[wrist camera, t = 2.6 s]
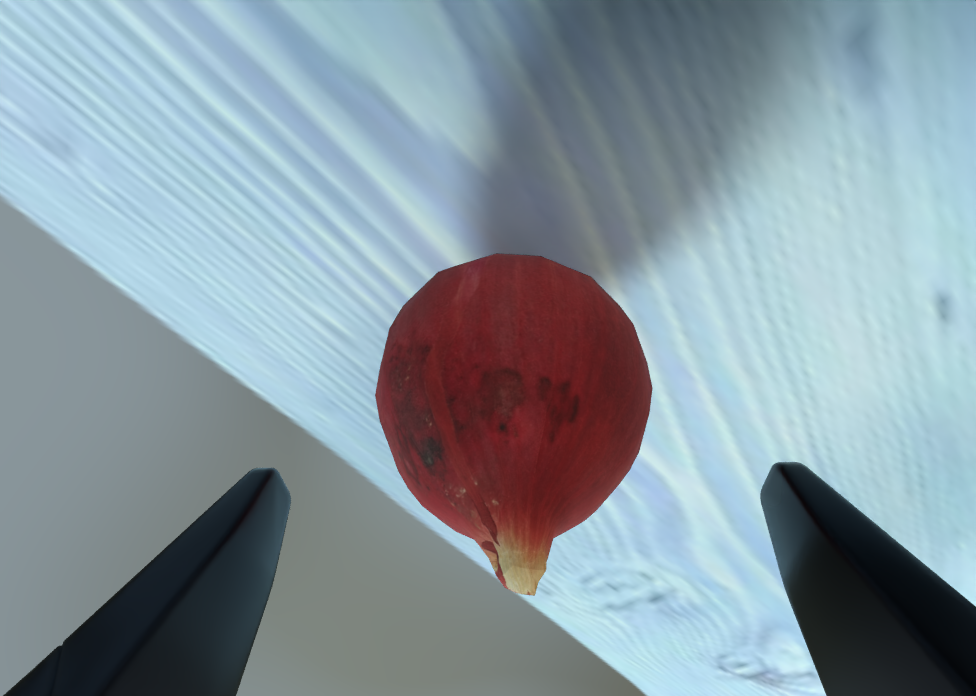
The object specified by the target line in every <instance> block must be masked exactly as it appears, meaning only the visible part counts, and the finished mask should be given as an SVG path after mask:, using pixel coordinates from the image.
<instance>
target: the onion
mask: <svg viewBox="0 0 976 696" xmlns="http://www.w3.org/2000/svg"><path fill="white" fill-rule="evenodd" d="M651 395H652V384H651V379H650V374H649V370H648V365H647V361H646V358H645V356H644V353H643V350H642V347H641V344H640V341H639V339H638V336H637V333H636V330H635V327H634V325H633V323H632V322H631V320H630V319H629V318H628V316H627V315H626V314H625V312H624V311H623V310H622V308H621V307H620V306H619V305H618V304H617V303H616V302H615V301H614V300H613V299H612V298H611V297H610V296H609V295H608V294H607V293H606V292H605V291H604V290H603V289H602V288H601V287H600V286H599V285H598V284H597V283H596V282H595V281H594V280H593V279H592V278H591V277H590V276H588V275H585V274H583V273H580V272H578V271H576V270H573V269H571V268H568V267H566V266H564V265H561V264H559V263H556V262H554V261H552V260H549V259H547V258H544V257H542V256H530V255H513V254H493V255H490V256H487V257H483V258H480V259H477V260H474V261H470V262H467V263H464V264H460V265H457V266H454V267H451V268H448V269H445V270H443V271H440V272H438V273H437V274H436V275H435V276H434V277H433V278H431V279H430V280H429V281H428V282H427V283H426V284H425V285H424V286H423V287H422V288H421V289H420V290H419V291H418V292H417V293H416V294H415V295H414V296H413V297H412V298H411V299H410V300H409V301H408V302H407V303H406V304H405V305H404V306H403V307H402V309H401V310H400V312H399V314H398V315H397V317H396V319H395V320H394V322H393V324H392V325H391V327H390V329H389V333H388V337H387V341H386V345H385V350H384V354H383V358H382V362H381V366H380V371H379V377H378V383H377V388H376V394H375V396H376V402H377V407H378V413H379V419H380V422H381V425H382V428H383V431H384V433H385V436H386V439H387V441H388V444H389V447H390V449H391V452H392V455H393V458H394V461H395V463H396V466H397V469H398V471H399V473H400V475H401V476H402V478H403V480H404V482H405V483H406V485H407V487H408V489H409V490H410V491H411V492H412V494H413V495H414V496H415V497H416V499H417V500H418V501H419V502H420V504H421V505H422V506H423V507H424V508H426V509H427V510H428V511H429V512H431V513H432V514H433V515H435V516H436V517H437V518H438V519H440V520H441V521H442V522H444V523H445V524H446V525H448V526H449V527H451V528H452V529H453V530H455V531H456V532H458V533H461V534H463V535H465V536H467V537H469V538H472V539H474V540H475V541H476V542H477V543H478V545H479V546H480V547H481V549H482V550H483V551H484V553H485V554H486V555H487V557H488V558H489V560H490V562H491V564H492V567H493V569H494V571H495V574H496V576H497V577H498V579H499V580H500V581H501V583H502V584H503V586H504V587H505V588H507V589H509V590H511V591H513V592H515V593H519V594H525V595H534V596H535V593H536V589H537V585H538V582H539V580H540V579H541V577H542V576H543V574H544V573H545V571H546V561H547V559H548V555H549V552H550V548H551V544H552V541H553V538H555V537H557V536H558V535H560V534H562V533H564V532H566V531H568V530H569V529H571V528H573V527H575V526H576V525H578V524H580V523H581V522H583V521H585V520H586V519H587V518H588V517H589V516H591V515H592V514H593V513H594V512H595V511H596V510H597V509H598V508H599V507H600V506H601V505H602V503H603V502H604V501H605V500H606V499H607V498H608V497H609V495H610V494H611V493H612V492H613V491H614V490H615V489H616V487H617V486H618V485H619V484H620V482H621V481H622V480H623V478H624V477H625V476H626V474H627V473H628V472H629V470H630V468H631V466H632V464H633V463H634V461H635V459H636V457H637V455H638V453H639V450H640V446H641V442H642V439H643V435H644V431H645V427H646V423H647V420H648V416H649V411H650V403H651Z"/></svg>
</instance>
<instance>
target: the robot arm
mask: <svg viewBox="0 0 976 696" xmlns="http://www.w3.org/2000/svg"><path fill="white" fill-rule="evenodd" d="M290 504H291V497H290V493H289V491H288V489H287V487H286V485H285V483H284V481H283V479H282V478H281V476H280V474H279V472H278V471H277V470H276V469H275V468H255V469H252V470H251V471H249V472H248V473H247V474H246V475H245V476H244V477H243V478H242V479H240V480H239V481H238V482H237V483H236V484H235V485H234V486H233V487H232V488H231V489H229V490H228V491H227V492H226V493H225V494H224V495H223V496H222V497H221V498H220V499H219V500H218V501H216V502H215V503H214V504H213V505H212V506H211V507H210V508H209V509H208V510H207V511H205V512H204V513H203V514H202V515H201V516H200V517H199V518H198V519H197V520H196V521H195V522H193V523H192V524H191V525H190V526H189V527H188V528H187V529H186V530H185V531H184V532H182V533H181V534H180V535H179V536H178V537H177V538H176V539H175V540H174V541H173V542H172V543H171V544H169V545H168V546H167V547H166V548H165V549H164V550H163V551H162V552H161V553H160V554H159V555H157V556H156V557H155V558H154V559H153V560H152V561H151V562H150V563H149V564H148V565H147V566H145V567H144V568H143V569H142V570H141V571H140V572H139V573H138V574H137V575H135V576H134V577H133V578H132V579H131V580H130V581H129V582H128V583H127V584H126V585H125V586H124V587H123V588H121V589H120V590H119V591H118V592H117V593H116V594H115V595H114V596H113V597H112V598H111V599H109V600H108V601H107V602H106V603H105V604H104V605H103V606H102V607H101V608H99V609H98V610H97V611H96V612H95V613H94V614H93V615H92V616H91V617H90V618H89V619H88V620H86V621H85V622H84V623H83V624H82V625H81V626H80V627H79V628H78V629H77V630H75V631H74V632H73V633H72V634H71V635H70V636H69V637H68V638H67V639H66V640H65V641H64V642H63V645H62V646H58V647H57V648H56V649H54V651H52V652H51V653H50V654H49V655H48V656H47V657H46V658H45V659H44V660H42V662H40V663H39V664H38V665H37V666H36V667H35V668H34V669H33V670H32V671H30V672H29V673H28V674H27V675H26V676H25V677H24V678H22V679H21V680H20V681H19V682H18V683H17V684H16V685H15V686H14V687H12V688H11V689H10V690H9V691H8V692H7V693H6V694H4V695H3V696H236V694H237V691H238V688H239V685H240V682H241V679H242V676H243V673H244V670H245V667H246V664H247V661H248V658H249V655H250V652H251V649H252V646H253V643H254V640H255V637H256V634H257V631H258V628H259V625H260V622H261V619H262V616H263V613H264V610H265V607H266V604H267V601H268V597H269V594H270V591H271V587H272V584H273V581H274V577H275V573H276V568H277V564H278V559H279V555H280V550H281V546H282V541H283V536H284V532H285V528H286V522H287V519H288V514H289V509H290ZM761 504H762V508H763V511H764V515H765V519H766V522H767V526H768V530H769V533H770V537H771V541H772V544H773V548H774V552H775V555H776V559H777V563H778V567H779V570H780V574H781V577H782V580H783V584H784V587H785V590H786V593H787V596H788V598H789V601H790V604H791V606H792V609H793V611H794V614H795V616H796V619H797V621H798V624H799V627H800V629H801V632H802V634H803V637H804V639H805V642H806V644H807V647H808V650H809V652H810V655H811V657H812V660H813V662H814V665H815V667H816V670H817V672H818V675H819V678H820V680H821V683H822V685H823V688H824V690H825V693H826V695H827V696H976V607H975V606H974V605H973V604H972V603H971V602H969V601H968V600H967V599H966V598H965V597H963V596H962V595H961V594H960V593H959V592H957V591H956V590H955V589H954V588H952V587H951V586H950V585H949V584H948V583H946V582H945V581H944V580H943V579H942V578H940V577H939V576H938V575H937V574H936V573H934V572H933V571H932V570H931V569H930V568H928V567H927V566H926V565H925V564H923V563H922V562H921V561H920V560H919V559H917V558H916V557H915V556H914V555H913V554H911V553H910V552H909V551H908V550H907V549H905V548H904V547H903V546H902V545H900V544H899V543H898V542H897V541H896V540H894V539H893V538H892V537H891V536H890V535H888V534H887V533H886V532H885V531H884V530H882V529H881V528H880V527H879V526H877V525H876V524H875V523H874V522H873V521H871V520H870V519H869V518H868V517H867V516H865V515H864V514H863V513H862V512H861V511H859V510H858V509H857V508H856V507H855V506H853V505H852V504H851V503H850V502H848V501H847V500H846V499H845V498H844V497H842V496H841V495H840V494H839V493H838V492H836V491H835V490H834V489H833V488H832V487H830V486H829V485H828V484H827V483H825V482H824V481H823V480H822V479H821V478H819V477H818V476H817V475H816V474H815V473H813V472H812V471H811V470H810V469H809V468H807V467H806V466H805V465H803V464H801V463H797V462H778V463H775V464H774V465H773V466H772V467H771V470H770V472H769V474H768V476H767V478H766V480H765V483H764V485H763V487H762V489H761Z"/></svg>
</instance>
